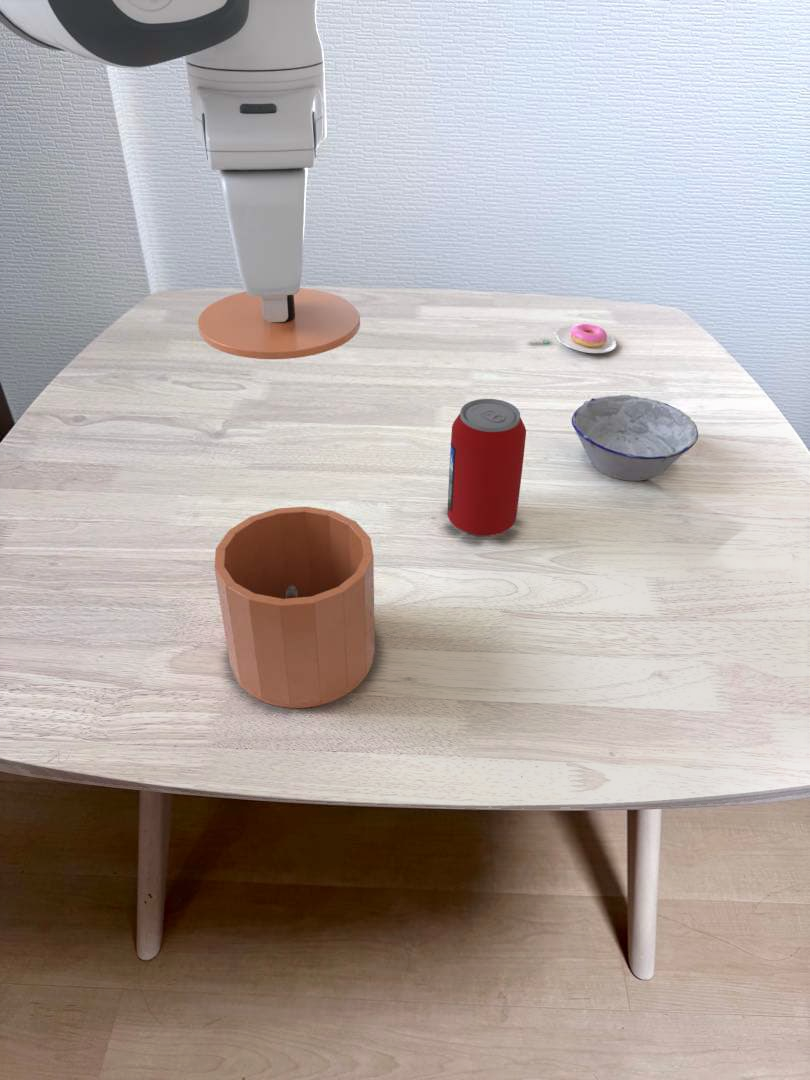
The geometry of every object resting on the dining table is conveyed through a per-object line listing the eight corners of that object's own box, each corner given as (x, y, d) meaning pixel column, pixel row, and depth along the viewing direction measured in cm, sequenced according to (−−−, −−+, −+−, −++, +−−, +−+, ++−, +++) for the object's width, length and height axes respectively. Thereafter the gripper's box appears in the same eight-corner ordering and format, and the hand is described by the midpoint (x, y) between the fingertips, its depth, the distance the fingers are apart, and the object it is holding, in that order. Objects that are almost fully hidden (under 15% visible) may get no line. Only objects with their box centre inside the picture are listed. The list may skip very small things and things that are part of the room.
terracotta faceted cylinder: (229, 715, 63) (211, 611, 57) (233, 612, 72) (217, 512, 66) (381, 700, 64) (380, 597, 58) (366, 601, 73) (364, 502, 67)
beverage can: (478, 493, 87) (486, 387, 79) (530, 521, 83) (543, 413, 75) (432, 520, 83) (436, 411, 75) (484, 551, 79) (494, 440, 72)
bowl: (549, 472, 90) (555, 433, 87) (589, 420, 99) (595, 383, 96) (670, 508, 85) (681, 467, 82) (701, 450, 94) (711, 411, 91)
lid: (195, 371, 60) (185, 308, 58) (204, 304, 70) (196, 247, 67) (368, 363, 62) (367, 301, 59) (353, 298, 72) (351, 242, 69)
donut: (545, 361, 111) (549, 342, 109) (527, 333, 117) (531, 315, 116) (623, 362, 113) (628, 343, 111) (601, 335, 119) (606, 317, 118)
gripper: (217, 81, 64) (236, 262, 73) (204, 146, 48) (230, 369, 57) (300, 81, 65) (310, 260, 73) (315, 145, 49) (325, 365, 57)
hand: (275, 308), depth 65 cm, fingers closed on lid, 2 cm apart
